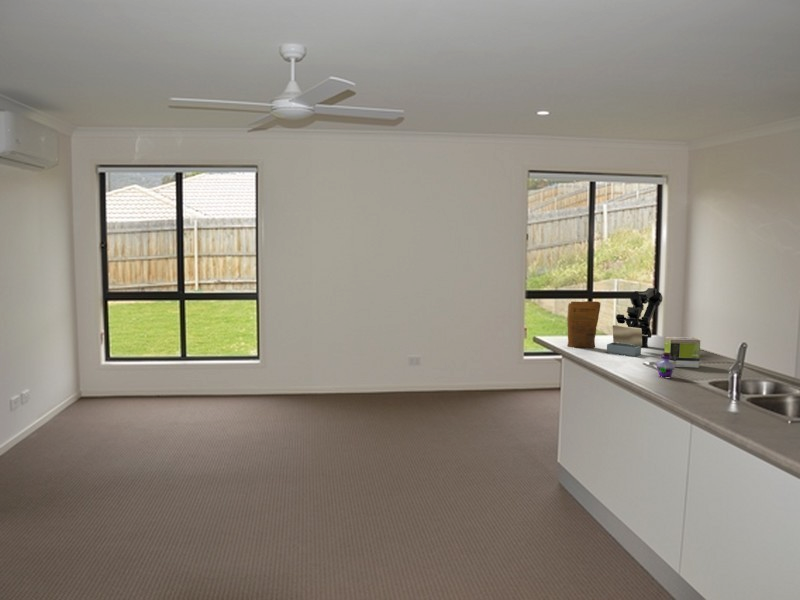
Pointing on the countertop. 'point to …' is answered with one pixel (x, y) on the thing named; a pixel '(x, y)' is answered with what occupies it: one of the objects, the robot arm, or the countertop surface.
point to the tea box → (683, 351)
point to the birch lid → (627, 335)
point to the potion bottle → (665, 365)
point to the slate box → (624, 349)
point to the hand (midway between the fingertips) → (628, 331)
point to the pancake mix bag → (582, 323)
